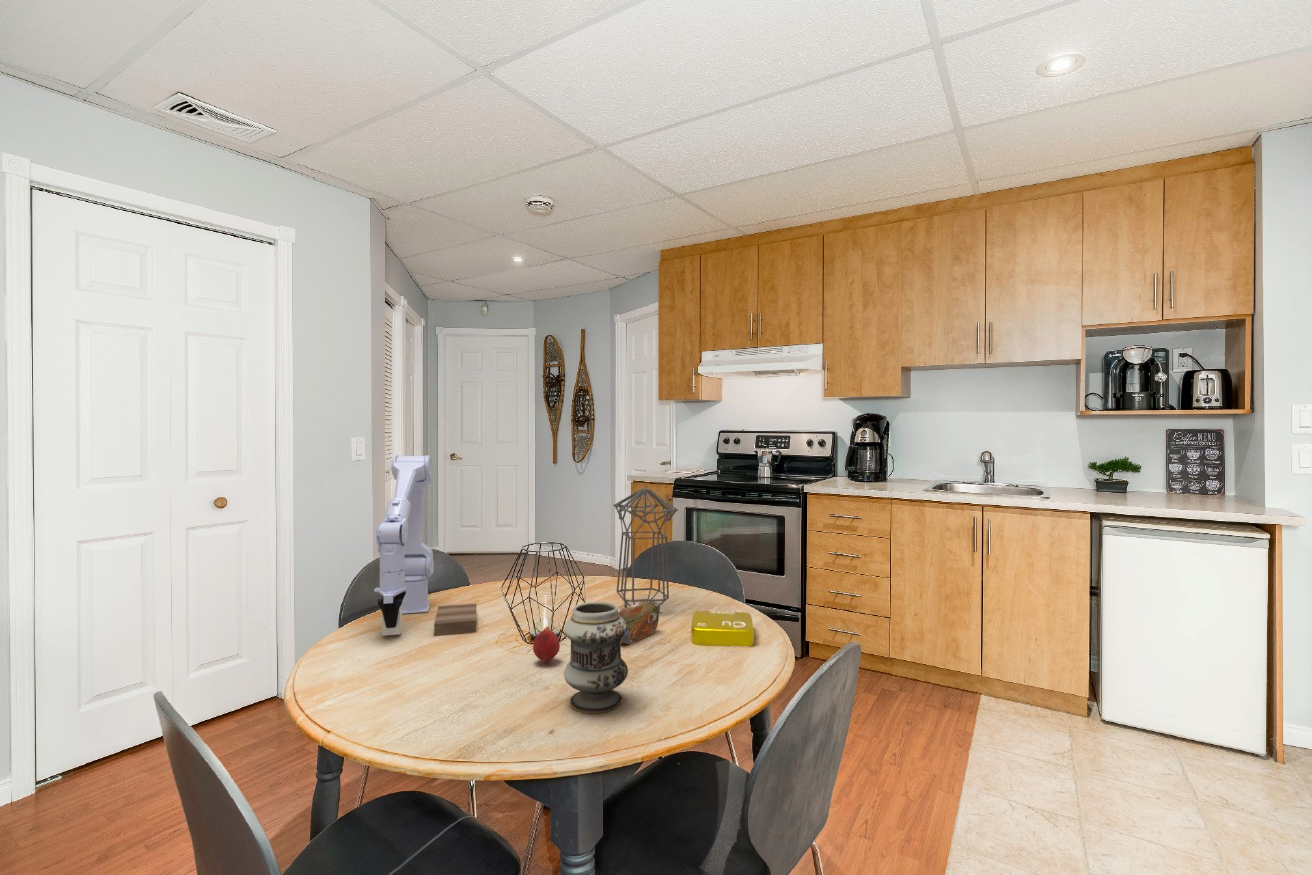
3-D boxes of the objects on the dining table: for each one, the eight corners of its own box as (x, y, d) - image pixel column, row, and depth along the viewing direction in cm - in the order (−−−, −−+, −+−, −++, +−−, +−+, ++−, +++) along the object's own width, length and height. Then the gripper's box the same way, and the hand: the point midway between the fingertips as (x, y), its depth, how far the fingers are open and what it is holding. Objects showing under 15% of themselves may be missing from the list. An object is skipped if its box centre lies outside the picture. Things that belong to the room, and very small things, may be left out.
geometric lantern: (609, 606, 179) (612, 486, 179) (660, 603, 184) (663, 486, 184) (622, 621, 164) (625, 490, 164) (678, 617, 169) (680, 490, 169)
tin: (621, 648, 144) (621, 613, 144) (611, 645, 146) (611, 610, 146) (659, 632, 156) (659, 599, 156) (650, 629, 158) (650, 597, 158)
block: (384, 630, 154) (384, 606, 154) (402, 628, 155) (401, 605, 155) (382, 635, 150) (382, 611, 150) (400, 634, 151) (399, 609, 151)
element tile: (750, 628, 160) (750, 610, 160) (754, 649, 145) (754, 628, 145) (693, 626, 162) (693, 608, 162) (690, 646, 147) (691, 626, 147)
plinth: (438, 616, 168) (438, 606, 168) (476, 614, 170) (476, 603, 170) (434, 635, 152) (434, 623, 152) (476, 632, 155) (476, 620, 155)
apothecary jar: (596, 683, 124) (596, 594, 124) (640, 699, 117) (641, 605, 117) (550, 703, 115) (550, 607, 115) (595, 723, 107) (596, 620, 107)
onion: (553, 668, 132) (554, 631, 132) (528, 666, 133) (528, 629, 133) (563, 658, 137) (563, 623, 137) (539, 656, 139) (539, 621, 138)
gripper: (379, 564, 158) (379, 617, 158) (369, 577, 144) (369, 635, 144) (408, 563, 160) (408, 614, 160) (401, 576, 146) (402, 632, 146)
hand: (392, 624), depth 152 cm, fingers closed on block, 4 cm apart
